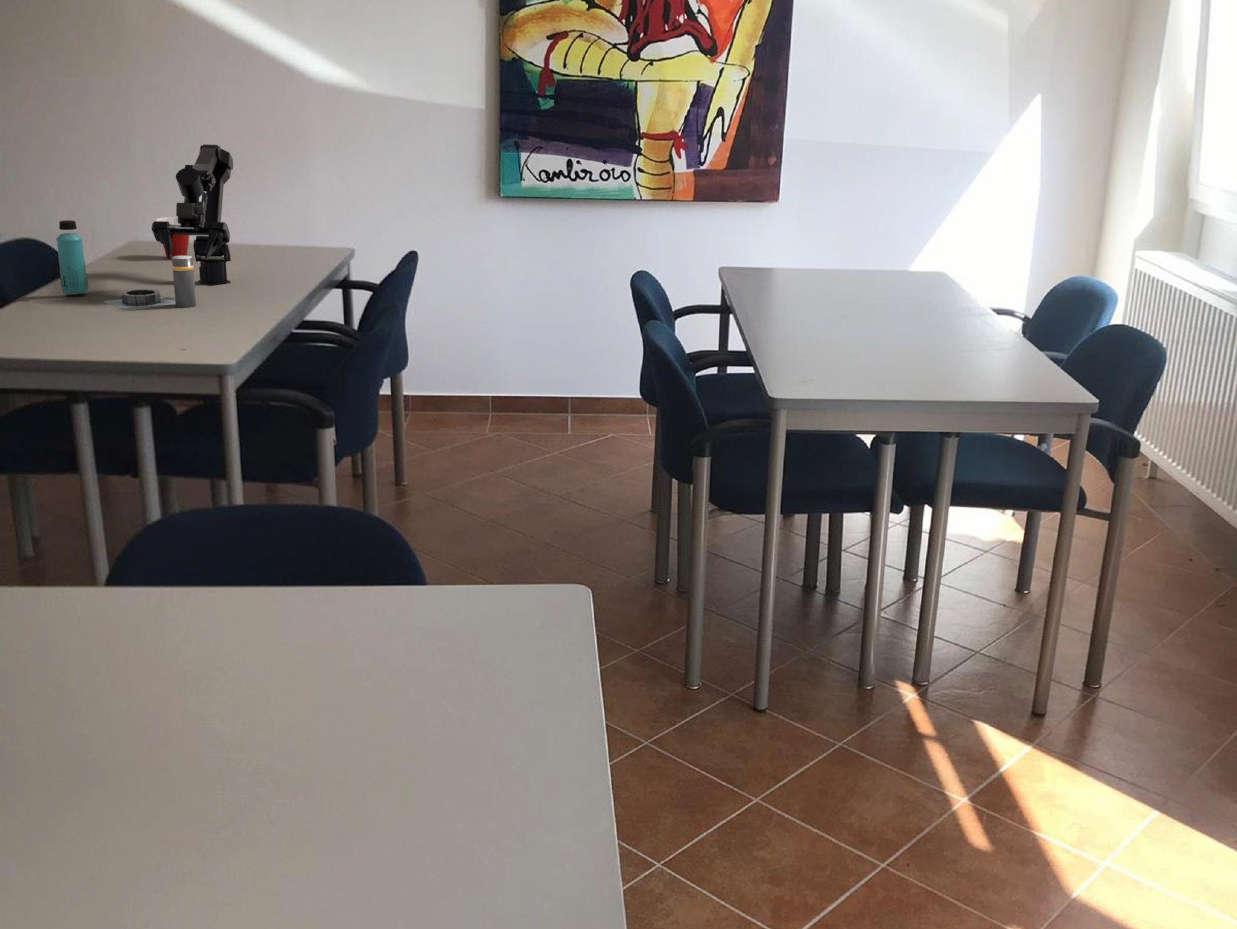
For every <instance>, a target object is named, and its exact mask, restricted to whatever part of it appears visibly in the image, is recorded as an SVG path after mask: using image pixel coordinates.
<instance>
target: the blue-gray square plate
mask: <svg viewBox="0 0 1237 929" xmlns="http://www.w3.org/2000/svg"><path fill="white" fill-rule="evenodd" d="M160 300H161V302H160V303H158V304H154V305H146V306H130V305H125V304H122V298H118V299H111V300H104V301H102V303H105V304H108V305H111V306H114V307H117V308H121V309H125V310H129V311H135V310H141V309H150V308H155V307H163V306H170V305H176V304H175V300H173V299H168V298H165V297H163V296H160Z"/></svg>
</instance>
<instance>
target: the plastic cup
mask: <svg viewBox="0 0 1237 929" xmlns="http://www.w3.org/2000/svg"><path fill="white" fill-rule="evenodd" d="M155 221H169V224H170V226H180V225H181V224H179V223H178V216H175V217H174V216H171V217H170V216H165V217H164V216H163V217H158V218H155ZM172 242H173V247H172V256H171V259H169V258H168V254H167V250H166V246H165V244H162V245H163V246H162V248H163V249H164V253H165V256H166V259H167V260H171V261H172V257H174V256H188V248H189V243H190V236H189V235H173V238H172Z"/></svg>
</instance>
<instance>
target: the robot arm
mask: <svg viewBox="0 0 1237 929" xmlns="http://www.w3.org/2000/svg"><path fill="white" fill-rule="evenodd" d="M233 170H234V158H233V157H232V154H231V153H230V152H229V151H228V150H225V149H222V148H221V145H218V144H211V143H210V144H208V143H206V144H205V143H203V144H201V145H200V147H199V152H198V156H197V158H196V160H195V163H194V164H185V165H184V168H181V169H179V170H178V172H177V173H176V174H175V179H176V182H177V185H178V189H179V191H180V194H181V196H182V197H183V202H176V211H175V217H178V223H179V224H181V225H180V226H170V224H169V221H156V220H155V221H153V222H152V225H151V232H152V233H153V236H154V239H155V241H156V242H158V243H160V244H161V245H163V244H165V246H166V250H167V254H168V258H169V259H171V256H172V247H173V242H172V238H173V235H189V237H190V236H191V237H195V239H194V240H193V252H194V259H195V262H196V263H197V262H199V267H198V270H199V271H198V272H199V280H198V281H197V282H198V283H201V284H205V285H208V286H214V285H223V284H229V283H231V280H230V279H228V273H227V271H228V270H227V262H231V261H232V259H231V251H230V247H229V245H228V243H230V239H231V234H230V230H229V226H228V224H227V222H226V221H222V211H223V198H224V187H225V184H226V183H227V182H228V181H229V179H230V178H231V176H232V171H233ZM169 259H168V260H169Z"/></svg>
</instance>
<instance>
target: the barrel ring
mask: <svg viewBox="0 0 1237 929" xmlns="http://www.w3.org/2000/svg"><path fill="white" fill-rule="evenodd" d="M160 297H161V291H160V290H158V289H150V288H149V289H148V288H141V289H139V288H138V289H137V288H136V289H135V288H134V289H130V290H129V289H128V290H125V291H122V292H121V299H122V304H125V305H130V306H146V305H154V304H158V303H160V302H161V300H160Z"/></svg>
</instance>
